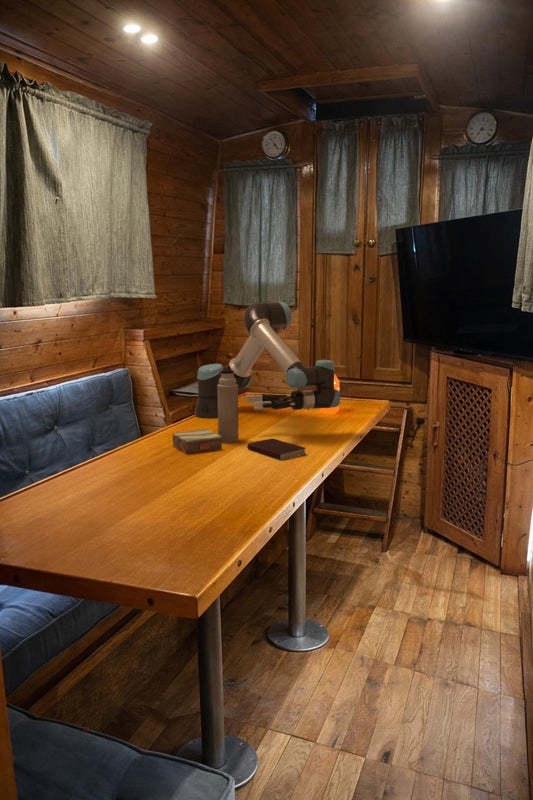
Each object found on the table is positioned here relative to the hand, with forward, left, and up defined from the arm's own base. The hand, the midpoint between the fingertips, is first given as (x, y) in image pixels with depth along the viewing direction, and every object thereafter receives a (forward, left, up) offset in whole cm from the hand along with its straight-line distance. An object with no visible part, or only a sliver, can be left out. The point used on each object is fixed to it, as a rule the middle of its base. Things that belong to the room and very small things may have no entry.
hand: (250, 402), depth 256 cm
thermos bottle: (-2, -9, -15) cm, 17 cm away
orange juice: (-28, +57, -15) cm, 66 cm away
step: (+2, -24, -15) cm, 28 cm away
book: (+22, 0, -16) cm, 27 cm away
